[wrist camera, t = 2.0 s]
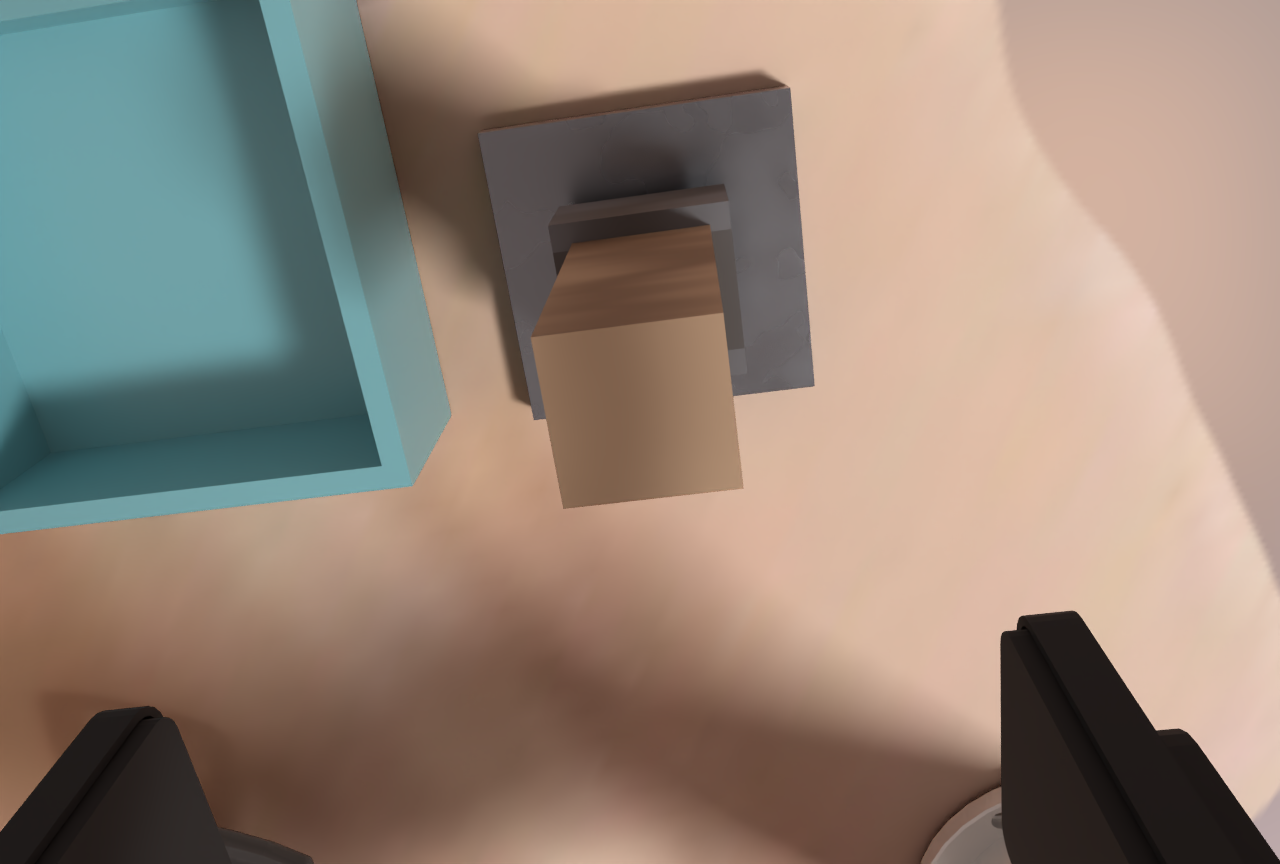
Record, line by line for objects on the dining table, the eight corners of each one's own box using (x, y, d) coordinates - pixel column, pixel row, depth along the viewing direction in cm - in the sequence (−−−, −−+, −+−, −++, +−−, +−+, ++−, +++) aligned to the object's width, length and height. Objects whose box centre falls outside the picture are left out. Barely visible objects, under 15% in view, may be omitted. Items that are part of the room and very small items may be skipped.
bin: (345, -47, 32) (275, -59, 26) (451, 415, 37) (412, 486, 32) (-120, 28, 33) (-281, 33, 27) (53, 463, 39) (-50, 539, 33)
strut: (723, 183, 31) (749, 280, 20) (741, 342, 33) (773, 509, 22) (559, 206, 32) (496, 313, 21) (585, 362, 34) (541, 535, 23)
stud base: (786, 85, 33) (807, 100, 28) (811, 376, 36) (832, 436, 31) (483, 129, 33) (448, 152, 28) (537, 409, 37) (515, 473, 32)
